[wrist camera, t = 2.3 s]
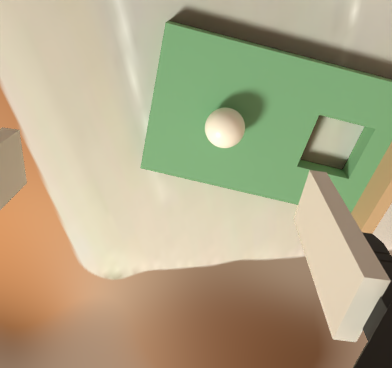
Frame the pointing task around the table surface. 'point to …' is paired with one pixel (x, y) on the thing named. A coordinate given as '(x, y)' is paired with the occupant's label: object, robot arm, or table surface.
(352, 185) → the green
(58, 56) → the table surface
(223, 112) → the ball
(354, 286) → the robot arm
